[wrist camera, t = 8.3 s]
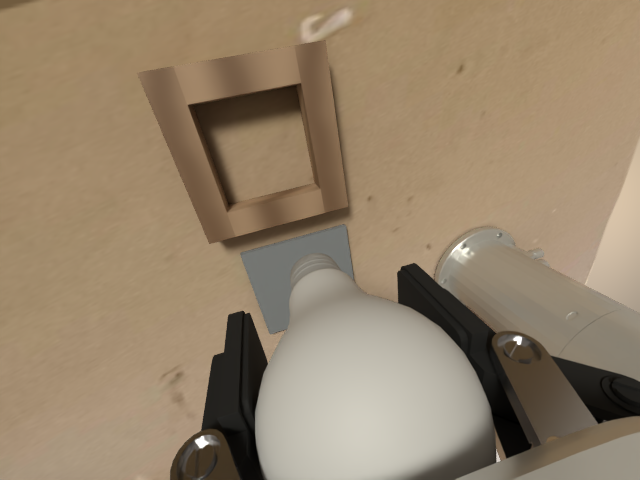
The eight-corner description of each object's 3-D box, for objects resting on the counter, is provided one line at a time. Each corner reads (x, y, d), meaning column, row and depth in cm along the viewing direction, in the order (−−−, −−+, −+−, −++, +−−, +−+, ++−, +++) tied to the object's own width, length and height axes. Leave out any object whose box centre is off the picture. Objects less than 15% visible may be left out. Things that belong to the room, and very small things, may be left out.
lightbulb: (341, 318, 17) (468, 605, 7) (240, 304, 15) (219, 685, 5) (381, 228, 15) (640, 457, 5) (271, 198, 13) (339, 487, 3)
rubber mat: (344, 224, 31) (345, 226, 31) (356, 303, 37) (357, 306, 36) (240, 252, 29) (240, 255, 29) (269, 331, 35) (270, 334, 34)
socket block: (317, 47, 23) (325, 40, 21) (340, 199, 30) (348, 206, 27) (147, 76, 21) (136, 72, 19) (212, 233, 28) (209, 243, 25)
